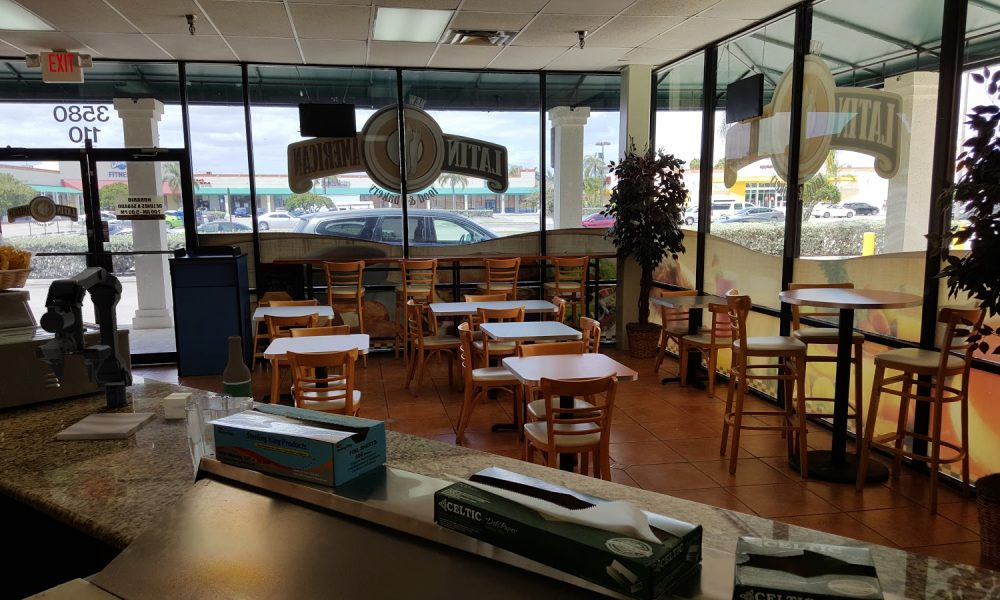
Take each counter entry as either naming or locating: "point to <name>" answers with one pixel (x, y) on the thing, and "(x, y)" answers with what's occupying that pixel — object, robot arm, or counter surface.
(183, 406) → the maple cube
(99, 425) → the wooden board
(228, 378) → the beer bottle
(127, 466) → the counter surface
